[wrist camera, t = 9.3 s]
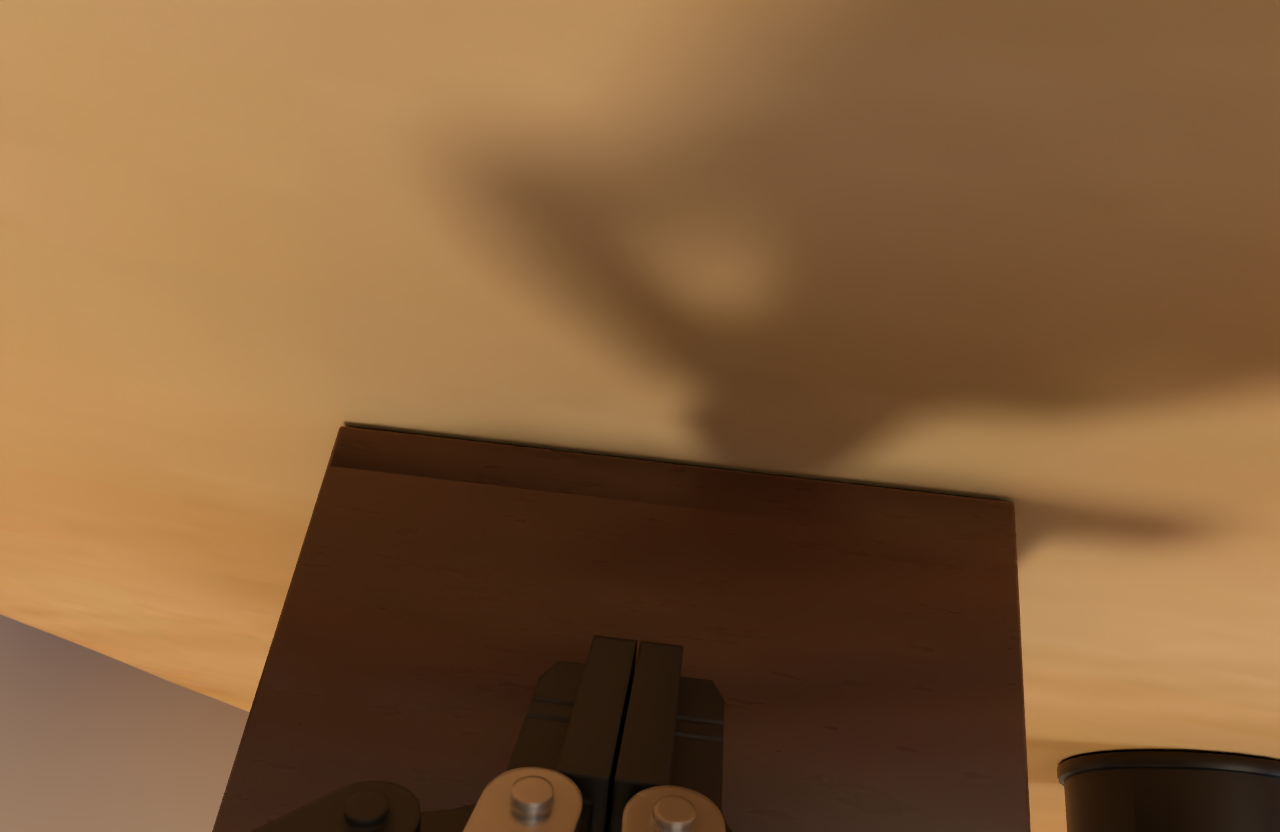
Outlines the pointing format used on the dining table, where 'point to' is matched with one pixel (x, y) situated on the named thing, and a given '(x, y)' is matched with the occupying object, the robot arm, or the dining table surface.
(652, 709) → the robot arm
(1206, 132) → the dining table surface
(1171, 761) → the french press
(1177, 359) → the dining table surface
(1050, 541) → the dining table surface
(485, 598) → the tray
